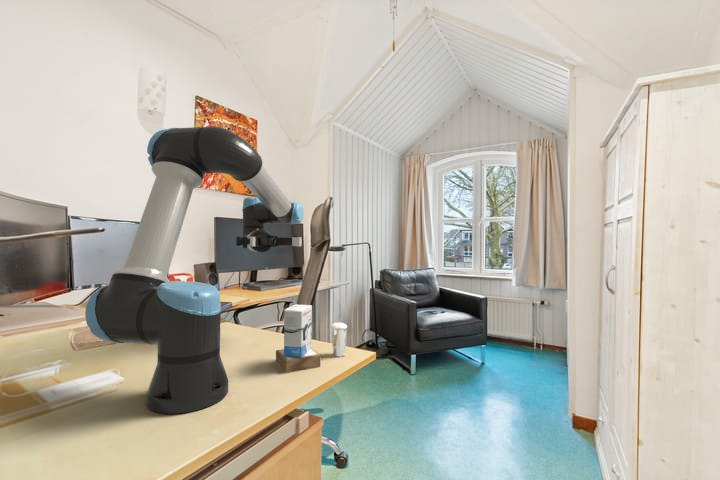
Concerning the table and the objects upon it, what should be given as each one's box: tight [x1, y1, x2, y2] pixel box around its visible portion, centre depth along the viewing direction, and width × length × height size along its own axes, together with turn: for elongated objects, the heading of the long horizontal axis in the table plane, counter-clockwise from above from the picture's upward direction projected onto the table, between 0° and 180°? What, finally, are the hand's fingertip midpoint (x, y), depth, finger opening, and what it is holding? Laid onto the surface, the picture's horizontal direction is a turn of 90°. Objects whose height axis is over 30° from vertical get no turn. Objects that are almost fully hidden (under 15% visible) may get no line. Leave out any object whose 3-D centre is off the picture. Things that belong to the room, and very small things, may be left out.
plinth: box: [275, 347, 321, 374], centre depth 91 cm, size 9×9×3 cm
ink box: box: [283, 304, 313, 357], centre depth 91 cm, size 8×5×12 cm, turn 169°
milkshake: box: [330, 322, 350, 358], centre depth 98 cm, size 5×5×10 cm
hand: (278, 241), depth 100 cm, fingers open, 13 cm apart
